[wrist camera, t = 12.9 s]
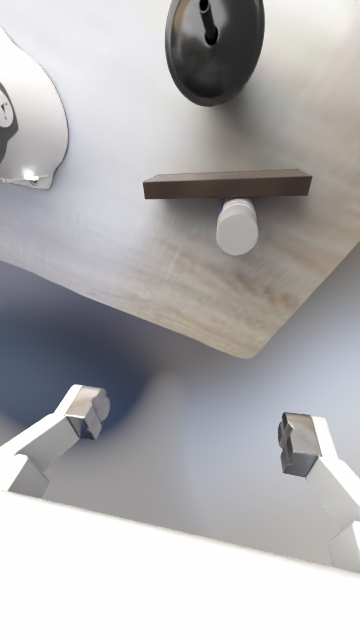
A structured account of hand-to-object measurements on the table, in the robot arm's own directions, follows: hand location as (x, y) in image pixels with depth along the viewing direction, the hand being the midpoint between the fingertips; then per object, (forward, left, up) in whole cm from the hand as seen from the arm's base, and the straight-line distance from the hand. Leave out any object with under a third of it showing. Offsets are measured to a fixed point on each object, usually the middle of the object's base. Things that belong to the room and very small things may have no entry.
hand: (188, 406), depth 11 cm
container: (+2, +1, -35) cm, 35 cm away
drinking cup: (-1, +16, -35) cm, 39 cm away
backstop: (0, +5, -35) cm, 35 cm away
